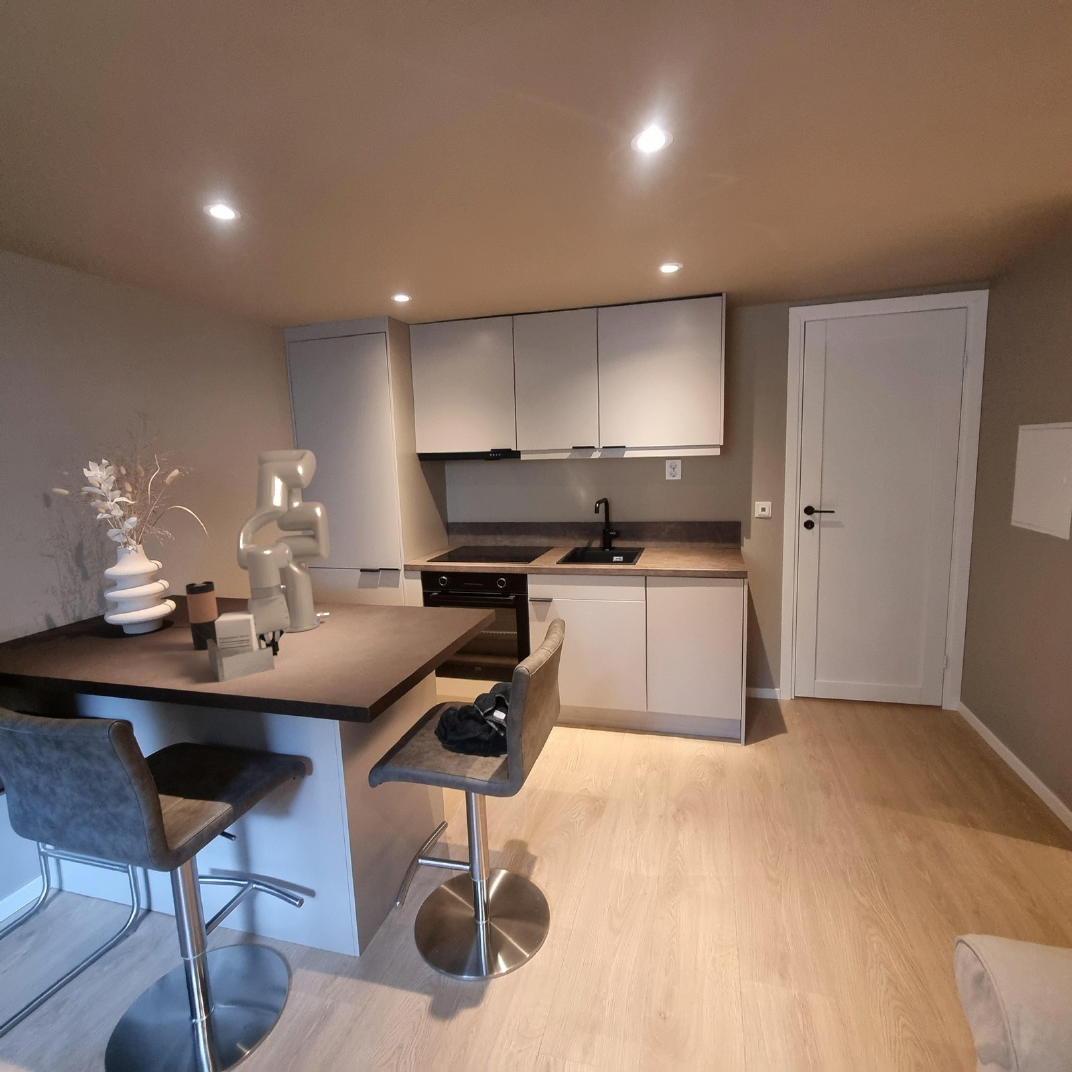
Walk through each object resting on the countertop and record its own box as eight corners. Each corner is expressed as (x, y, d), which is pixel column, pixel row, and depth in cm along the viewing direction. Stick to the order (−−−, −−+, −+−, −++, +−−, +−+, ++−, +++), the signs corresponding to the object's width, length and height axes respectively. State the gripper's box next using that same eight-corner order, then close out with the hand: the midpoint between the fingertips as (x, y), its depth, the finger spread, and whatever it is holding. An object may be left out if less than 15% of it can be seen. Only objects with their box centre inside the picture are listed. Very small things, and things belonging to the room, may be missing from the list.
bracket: (261, 655, 165) (258, 629, 164) (274, 668, 154) (271, 640, 153) (210, 667, 157) (206, 639, 156) (219, 682, 146) (216, 652, 145)
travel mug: (208, 651, 172) (200, 586, 169) (187, 650, 173) (178, 586, 171) (227, 642, 179) (219, 581, 177) (206, 642, 181) (198, 581, 178)
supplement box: (228, 664, 159) (222, 612, 157) (263, 660, 161) (257, 609, 159) (219, 675, 150) (213, 621, 148) (256, 671, 153) (250, 617, 151)
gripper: (289, 585, 165) (296, 645, 168) (233, 594, 156) (241, 658, 158) (297, 589, 159) (304, 651, 162) (239, 599, 150) (247, 665, 153)
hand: (273, 654), depth 160 cm, fingers closed
